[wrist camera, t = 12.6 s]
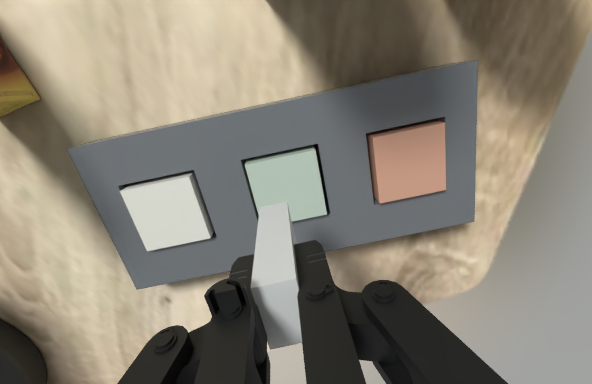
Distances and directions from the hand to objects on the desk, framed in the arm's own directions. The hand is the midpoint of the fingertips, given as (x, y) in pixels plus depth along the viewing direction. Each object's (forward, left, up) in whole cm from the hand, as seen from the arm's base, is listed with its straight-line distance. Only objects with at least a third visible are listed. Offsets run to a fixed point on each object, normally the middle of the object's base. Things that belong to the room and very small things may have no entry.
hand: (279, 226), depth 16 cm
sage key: (+1, 0, -9) cm, 9 cm away
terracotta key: (+10, 0, -9) cm, 13 cm away
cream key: (-8, 0, -9) cm, 12 cm away
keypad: (+1, 0, -9) cm, 9 cm away
